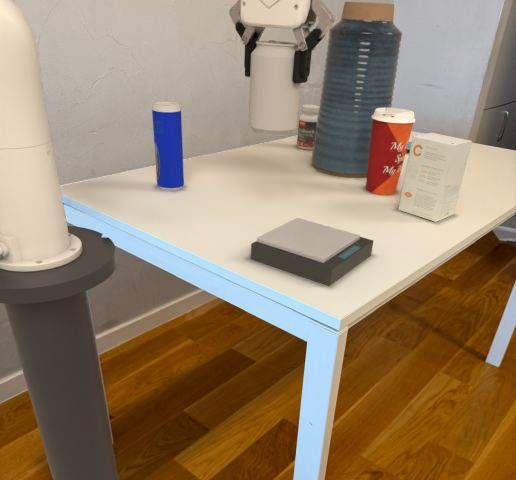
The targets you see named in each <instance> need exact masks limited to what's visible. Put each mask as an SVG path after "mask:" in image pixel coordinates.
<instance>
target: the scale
mask: <svg viewBox="0 0 516 480" xmlns="http://www.w3.org/2000/svg"><path fill="white" fill-rule="evenodd" d="M373 246H374V240H373V239H370V238H367V237H363V236H361V234H357V233H353V232H350V231H346V230H344V229H343V230H342V229H339V228H335V227H332V226H328V225H324V224H321V223H318V222H314V221H311V220H307V219H303V218H300V217H296V218H294V219H291V220H290V221H287V222H286V223H284V224H282V225H279V226H277V227H275V228H274V229H272V230H269V231H267V232H266V233H264V234H262V235H260V236H257V237H256V241H254V242H251V245H250V260H253V261H256V262H259V263H261V264H265V265H267V266H270V267H273V268H276V269H279V270H282V271H286V272H288V273H291V274H293V275H296V276H299V277H302V278H305V279H309V280H311V281H314V282H317V283H320V284H322V285H326V286H327V287H328V286H332V285H333V284H334V283H336V282H337V281H338V280H340V279H341V278H342V277H344V276H345V275H346V274H348V273H349V272H350V271H352V270H353V269H354V268H356V267H357V266H359V265H360V264H361V263H363V262H364V261H365V260H367V259H368V258H369V257H371V256H372V253H373V252H372V251H373Z"/></svg>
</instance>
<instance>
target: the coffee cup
mask: <svg viewBox="0 0 516 480" xmlns="http://www.w3.org/2000/svg"><path fill="white" fill-rule="evenodd" d="M372 118H373V124H372V133H371V143H370V152H369V162H368V171H367V177H366V181H365V183H366V184H365V190H366V191H367V192H369V193H371V194H375V195H380V196H390V195H393V194H395V193H396V191H397V188H398V184H399V181H400V176H401V172H402V168H403V165H404V160H405V157H406V154H407V153H406V149H407V146H408V142H410V137H411V133H412V129H413V125H414V123H415V122H416V118H415V112H414V111H413V110H410V109H406V108H399V107H391V108H377V109H376V110H375V112H374V115H372Z"/></svg>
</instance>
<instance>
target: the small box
mask: <svg viewBox="0 0 516 480" xmlns="http://www.w3.org/2000/svg"><path fill="white" fill-rule="evenodd" d="M411 142H412V143H411V148H410V153H408V157H407V158H408V159H407V164H406V168H405V173H404V177H403V183H402V188H401V193H400V198H399V203H398V211H401V212H404V213H407V214H410V215H413V216H416V217H420V218H423V219H426V220H428V221H432V222H435V223H437V222H439V221H441V220H444V219H446V218H449V217H451V216H453V215H454V213H455V209H456V206H457V203H458V197H459V193H460V190H461V186H462V182H463V178H464V175H465V171H466V167H467V164H468V163H467V162H468V159H469V155H470V152H471V148H472V144H473V140H469V139H465V138H459V137H455V136H450V135H445V134H440V133H435V132H428V133H423V134H417V135H413V136H412V138H411Z"/></svg>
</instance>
